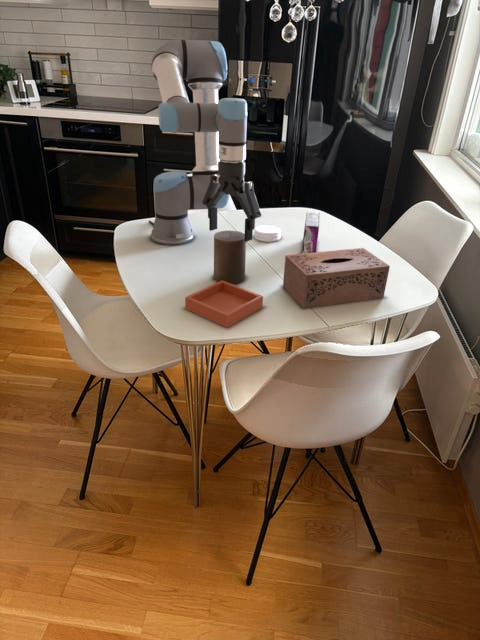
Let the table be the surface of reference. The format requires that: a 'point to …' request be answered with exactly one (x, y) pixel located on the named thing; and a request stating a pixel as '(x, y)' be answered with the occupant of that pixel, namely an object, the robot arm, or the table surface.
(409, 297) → the table surface
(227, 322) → the holder
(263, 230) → the coaster
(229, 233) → the pillar candle
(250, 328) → the table surface
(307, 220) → the candy bar box
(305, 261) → the tissue box cover
